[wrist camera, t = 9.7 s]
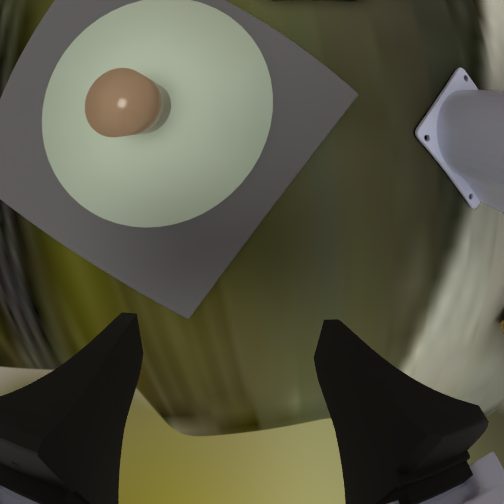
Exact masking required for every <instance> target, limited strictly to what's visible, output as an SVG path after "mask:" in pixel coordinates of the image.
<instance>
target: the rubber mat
mask: <svg viewBox="0 0 504 504" xmlns="http://www.w3.org/2000/svg"><path fill="white" fill-rule="evenodd" d="M138 1H141V0H55V1H54V2H53V4H52V5H51V7H50V8H49V10H48V11H47V13H46V14H45V16H44V17H43V19H42V20H41V22H40V23H39V25H38V26H37V28H36V30H35V31H34V33H33V35H32V36H31V38H30V40H29V42H28V43H27V45H26V47H25V49H24V50H23V52H22V54H21V56H20V58H19V60H18V62H17V64H16V66H15V68H14V70H13V72H12V74H11V76H10V78H9V80H8V82H7V85H6V87H5V89H4V91H3V94H2V96H1V99H0V199H1V200H2V201H3V202H5V203H6V204H7V205H9V206H10V207H11V208H13V209H14V210H15V211H17V212H18V213H19V214H21V215H22V216H23V217H25V218H26V219H27V220H29V221H30V222H31V223H33V224H34V225H36V226H37V227H38V228H40V229H41V230H43V231H44V232H45V233H47V234H48V235H50V236H51V237H53V238H54V239H56V240H57V241H58V242H60V243H61V244H63V245H64V246H66V247H67V248H69V249H70V250H72V251H73V252H75V253H76V254H78V255H79V256H81V257H83V258H84V259H86V260H87V261H89V262H90V263H92V264H93V265H95V266H97V267H98V268H100V269H101V270H103V271H105V272H106V273H108V274H110V275H111V276H113V277H114V278H116V279H118V280H119V281H121V282H123V283H124V284H126V285H128V286H130V287H131V288H133V289H135V290H136V291H138V292H140V293H142V294H143V295H145V296H147V297H149V298H150V299H152V300H154V301H156V302H157V303H159V304H161V305H163V306H165V307H166V308H168V309H170V310H172V311H174V312H176V313H178V314H179V315H181V316H183V317H185V318H187V319H189V318H190V317H191V315H192V314H193V312H194V311H195V310H196V308H197V307H198V306H199V304H200V303H201V302H202V300H203V299H204V298H205V296H206V295H207V294H208V292H209V291H210V289H211V288H212V287H213V285H214V284H215V283H216V281H217V280H218V279H219V277H220V276H221V275H222V273H223V272H224V271H225V269H226V268H227V267H228V265H229V264H230V263H231V261H232V260H233V259H234V257H235V256H236V255H237V253H238V252H239V251H240V249H241V248H242V247H243V245H244V244H245V243H246V241H247V240H248V239H249V237H250V236H251V235H252V233H253V232H254V231H255V229H256V228H257V227H258V225H259V224H260V223H261V221H262V220H263V219H264V217H265V216H266V215H267V213H268V212H269V211H270V209H271V208H272V207H273V205H274V204H275V203H276V201H277V200H278V199H279V197H280V196H281V195H282V194H283V192H284V191H285V190H286V188H287V187H288V186H289V184H290V183H291V182H292V180H293V179H294V178H295V176H296V175H297V174H298V172H299V171H300V170H301V169H302V167H303V166H304V165H305V163H306V162H307V161H308V159H309V158H310V157H311V155H312V154H313V153H314V152H315V150H316V149H317V148H318V146H319V145H320V144H321V142H322V141H323V140H324V138H325V137H326V136H327V135H328V133H329V132H330V131H331V129H332V128H333V127H334V125H335V124H336V123H337V122H338V120H339V119H340V118H341V116H342V115H343V114H344V113H345V111H346V110H347V109H348V107H349V106H350V105H351V104H352V102H353V101H354V100H355V98H356V97H357V96H358V95H359V94H358V93H357V92H356V91H354V90H353V89H352V88H351V87H350V86H349V85H348V84H346V83H345V82H344V81H343V80H342V79H341V78H339V77H338V76H337V75H336V74H335V73H333V72H332V71H331V70H330V69H328V68H327V67H326V66H325V65H323V64H322V63H321V62H319V61H318V60H317V59H316V58H314V57H313V56H312V55H310V54H309V53H308V52H306V51H305V50H304V49H302V48H301V47H299V46H298V45H297V44H295V43H294V42H292V41H291V40H289V39H288V38H287V37H285V36H284V35H282V34H281V33H279V32H278V31H276V30H275V29H273V28H272V27H270V26H268V25H267V24H265V23H264V22H262V21H260V20H259V19H257V18H255V17H254V16H252V15H250V14H249V13H247V12H245V11H244V10H242V9H240V8H238V7H237V6H235V5H233V4H231V3H229V2H227V1H226V0H193V1H197V2H201V3H204V4H206V5H209V6H211V7H214V8H216V9H218V10H219V11H221V12H223V13H225V14H226V15H228V16H230V17H231V18H232V19H233V20H235V21H236V22H237V23H238V24H239V25H241V26H242V27H243V28H244V29H245V31H246V32H247V33H248V34H249V35H250V36H251V37H252V39H253V40H254V42H255V43H256V45H257V46H258V48H259V49H260V51H261V53H262V55H263V58H264V60H265V62H266V64H267V68H268V71H269V74H270V78H271V84H272V91H273V112H272V119H271V126H270V130H269V133H268V137H267V140H266V143H265V145H264V148H263V150H262V152H261V155H260V157H259V158H258V160H257V162H256V164H255V165H254V167H253V169H252V170H251V172H250V173H249V174H248V176H247V177H246V178H245V179H244V181H243V182H242V183H241V184H240V185H239V186H238V187H237V188H236V189H235V190H234V191H233V192H232V193H231V194H230V195H229V196H228V197H227V198H226V199H224V200H223V201H222V202H220V203H219V204H218V205H216V206H215V207H213V208H212V209H210V210H208V211H207V212H205V213H203V214H201V215H199V216H196V217H194V218H192V219H190V220H187V221H184V222H180V223H177V224H173V225H168V226H162V227H147V228H144V227H132V226H126V225H122V224H117V223H114V222H111V221H109V220H106V219H103V218H101V217H99V216H97V215H95V214H94V213H92V212H90V211H89V210H87V209H86V208H84V207H83V206H82V205H80V204H79V203H78V202H77V201H76V200H75V199H74V198H73V197H71V196H70V194H69V193H68V192H67V191H66V190H65V188H64V187H63V186H62V185H61V183H60V182H59V180H58V178H57V177H56V175H55V174H54V171H53V169H52V167H51V165H50V163H49V160H48V157H47V154H46V150H45V146H44V141H43V135H42V111H43V103H44V98H45V94H46V90H47V87H48V84H49V81H50V78H51V76H52V74H53V71H54V69H55V67H56V65H57V63H58V62H59V60H60V59H61V57H62V55H63V54H64V52H65V51H66V50H67V48H68V47H69V46H70V45H71V43H72V42H73V41H74V40H75V39H76V38H77V37H78V36H79V35H80V34H81V33H82V32H83V31H84V30H85V29H86V28H87V27H89V26H90V25H91V24H92V23H94V22H95V21H96V20H98V19H99V18H101V17H103V16H104V15H106V14H108V13H109V12H111V11H113V10H116V9H118V8H120V7H122V6H125V5H128V4H131V3H134V2H138Z"/></svg>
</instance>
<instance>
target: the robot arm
mask: <svg viewBox="0 0 504 504" xmlns="http://www.w3.org/2000/svg"><path fill="white" fill-rule="evenodd" d="M464 77H465V80H464ZM415 135H416V137H417V138H418V139H419V141H420V142H421V143H422V144H423V145H424V146H425V148H426V149H427V150H428V151H429V152H430V154H431V155H432V156H433V157H434V159H435V160H436V161H437V162H438V164H439V165H440V166H441V167H442V169H443V170H444V171H445V172H446V174H447V175H448V176H449V178H450V179H451V180H452V182H453V183H454V184H455V186H456V187H457V189H458V190H459V191H460V193H461V194H462V196H463V197H464V199H465V200H466V201H467V203H468V204H469V206H470V207H471V208H473V209H476V208H477V207H478V205H479V204H480V202H482V203H484V204H486V205H488V206H490V207H492V208H494V209H496V210H498V211H500V212H502V213H504V91H492V90H478V88H477V87H476V85H475V84H474V83H473V81H472V80H471V78H470V77H469V76H468V74H467V73H466V72H465V70H464V69H463V68H457V69H456V70H455V72H454V73H453V75H452V76H451V78H450V80H449V81H448V83H447V84H446V86H445V87H444V89H443V90H442V92H441V93H440V95H439V96H438V98H437V99H436V101H435V102H434V104H433V105H432V106H431V108H430V109H429V111H428V112H427V114H426V115H425V117H424V118H423V119H422V121H421V122H420V124H419V125H418V127H417V128H416V130H415ZM425 135H426V136H427V139H426V140H425V139H424V137H425ZM469 195H470V196H469ZM142 358H143V349H142V343H141V337H140V331H139V325H138V319H137V314H134V313H121V314H120V315H119V316H118V317H117V318H115V319H114V320H113V321H112V322H111V323H110V324H109V325H108V326H107V327H106V328H105V329H104V330H103V331H102V332H101V333H100V334H99V335H97V336H96V337H95V338H94V339H93V340H92V341H91V342H90V343H89V344H88V345H86V346H85V347H84V348H83V349H82V350H80V351H79V352H78V353H77V354H76V355H74V356H73V357H72V358H71V359H69V360H68V361H67V362H65V363H64V364H62V365H61V366H60V367H58V368H57V369H55V370H54V371H52V372H51V373H49V374H47V375H45V376H44V377H42V378H40V379H38V380H37V381H35V382H33V383H31V384H29V385H27V386H25V387H23V388H21V389H18V390H16V391H14V392H12V393H9V394H6V395H3V396H0V504H118V488H119V468H120V458H121V448H122V440H123V434H124V427H125V423H126V419H127V415H128V412H129V409H130V405H131V402H132V399H133V395H134V392H135V389H136V385H137V382H138V379H139V375H140V370H141V364H142ZM314 361H315V367H316V372H317V377H318V381H319V384H320V387H321V390H322V393H323V395H324V398H325V401H326V404H327V407H328V410H329V413H330V416H331V419H332V421H333V425H334V428H335V431H336V437H337V442H338V447H339V452H340V457H341V464H342V470H343V479H344V487H345V500H346V504H504V469H503V468H502V466H501V464H500V462H499V460H498V459H497V457H496V455H495V453H494V452H491V453H489V454H488V455H486V456H484V457H482V458H480V459H479V460H477V461H475V462H474V463H472V464H471V465H468V463H467V461H466V460H468V459H469V458H470V455H469V453H468V451H467V450H468V449H469V448H470V447H471V446H472V445H473V444H474V443H475V442H476V441H477V440H478V439H479V438H480V436H481V435H482V434H483V433H484V432H485V430H486V428H487V426H488V422H489V421H488V420H487V418H486V417H485V415H484V413H483V412H482V410H481V409H480V407H479V406H478V405H475V404H471V403H468V402H465V401H461V400H458V399H455V398H452V397H450V396H447V395H445V394H442V393H440V392H438V391H435V390H433V389H431V388H429V387H427V386H425V385H423V384H422V383H420V382H418V381H416V380H414V379H413V378H411V377H409V376H408V375H406V374H405V373H403V372H402V371H400V370H399V369H397V368H396V367H394V366H393V365H392V364H390V363H389V362H388V361H386V360H385V359H384V358H382V357H381V356H380V355H379V354H377V353H376V352H375V351H374V350H373V349H371V348H370V347H369V346H368V345H367V344H366V343H365V342H363V341H362V340H361V339H360V338H359V337H358V336H357V335H356V334H354V333H353V332H352V331H351V330H350V329H349V328H348V327H347V326H346V325H344V324H343V323H342V322H341V321H340V320H324V322H323V326H322V330H321V334H320V337H319V341H318V345H317V348H316V352H315V355H314Z"/></svg>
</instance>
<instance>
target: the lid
mask: <svg viewBox="0 0 504 504" xmlns="http://www.w3.org/2000/svg"><path fill="white" fill-rule="evenodd" d="M272 112H273V91H272V84H271V78H270V74H269V71H268V68H267V64H266V62H265V60H264V58H263V55H262V53H261V51H260V49H259V48H258V46H257V45H256V43H255V42H254V40H253V39H252V37H251V36H250V35H249V34H248V33H247V32H246V31H245V29H244V28H243V27H242V26H241V25H239V24H238V23H237V22H236V21H235V20H233V19H232V18H231V17H230V16H228V15H226V14H225V13H223V12H221V11H219V10H218V9H216V8H214V7H211V6H209V5H206V4H204V3H201V2H197V1H193V0H141V1H138V2H134V3H131V4H128V5H125V6H122V7H120V8H118V9H116V10H113V11H111V12H109V13H108V14H106V15H104V16H103V17H101V18H99V19H98V20H96V21H95V22H94V23H92V24H91V25H90V26H89V27H87V28H86V29H85V30H84V31H83V32H82V33H81V34H80V35H79V36H78V37H77V38H76V39H75V40H74V41H73V42H72V43H71V45H70V46H69V47H68V48H67V50H66V51H65V52H64V54H63V55H62V57H61V59H60V60H59V62H58V63H57V65H56V67H55V69H54V71H53V74H52V76H51V78H50V81H49V84H48V87H47V90H46V94H45V98H44V103H43V111H42V135H43V141H44V146H45V150H46V154H47V157H48V160H49V163H50V165H51V167H52V169H53V171H54V174H55V175H56V177H57V178H58V180H59V182H60V183H61V185H62V186H63V187H64V188H65V190H66V191H67V192H68V193H69V194H70V196H71V197H73V198H74V199H75V200H76V201H77V202H78V203H79V204H80V205H82V206H83V207H84V208H86V209H87V210H89V211H90V212H92V213H94V214H95V215H97V216H99V217H101V218H103V219H106V220H109V221H111V222H114V223H117V224H122V225H126V226H132V227H144V228H147V227H162V226H168V225H173V224H177V223H180V222H184V221H187V220H190V219H192V218H194V217H196V216H199V215H201V214H203V213H205V212H207V211H208V210H210V209H212V208H213V207H215V206H216V205H218V204H219V203H220V202H222V201H223V200H224V199H226V198H227V197H228V196H229V195H230V194H231V193H232V192H233V191H234V190H235V189H236V188H237V187H238V186H239V185H240V184H241V183H242V182H243V181H244V179H245V178H246V177H247V176H248V174H249V173H250V172H251V170H252V169H253V167H254V165H255V164H256V162H257V160H258V158H259V157H260V155H261V152H262V150H263V148H264V145H265V143H266V140H267V137H268V133H269V130H270V126H271V119H272Z"/></svg>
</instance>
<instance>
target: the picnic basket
mask: <svg viewBox="0 0 504 504" xmlns="http://www.w3.org/2000/svg"><path fill="white" fill-rule="evenodd" d="M500 327H501V330H502V332H503V333H504V320H503V321H502V322H501V324H500Z"/></svg>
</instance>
